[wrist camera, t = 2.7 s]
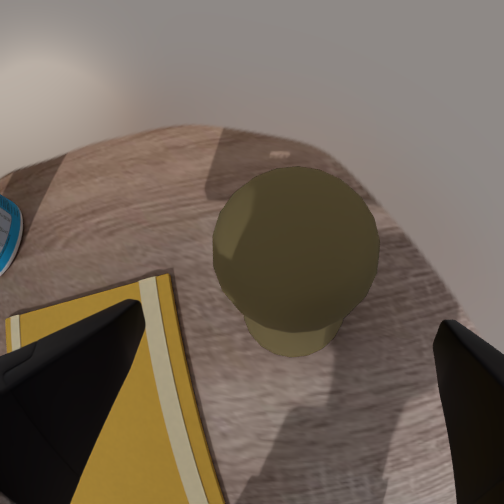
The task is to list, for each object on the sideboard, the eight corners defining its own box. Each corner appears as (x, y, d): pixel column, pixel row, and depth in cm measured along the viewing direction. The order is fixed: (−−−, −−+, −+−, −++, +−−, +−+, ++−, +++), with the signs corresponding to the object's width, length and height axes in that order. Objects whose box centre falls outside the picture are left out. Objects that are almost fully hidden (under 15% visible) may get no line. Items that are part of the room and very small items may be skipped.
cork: (233, 271, 20) (173, 165, 9) (327, 247, 19) (357, 121, 9) (255, 368, 17) (206, 367, 7) (356, 340, 17) (438, 299, 7)
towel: (245, 557, 13) (244, 561, 12) (58, 540, 13) (55, 542, 12) (170, 274, 20) (167, 272, 20) (8, 319, 20) (4, 318, 20)
